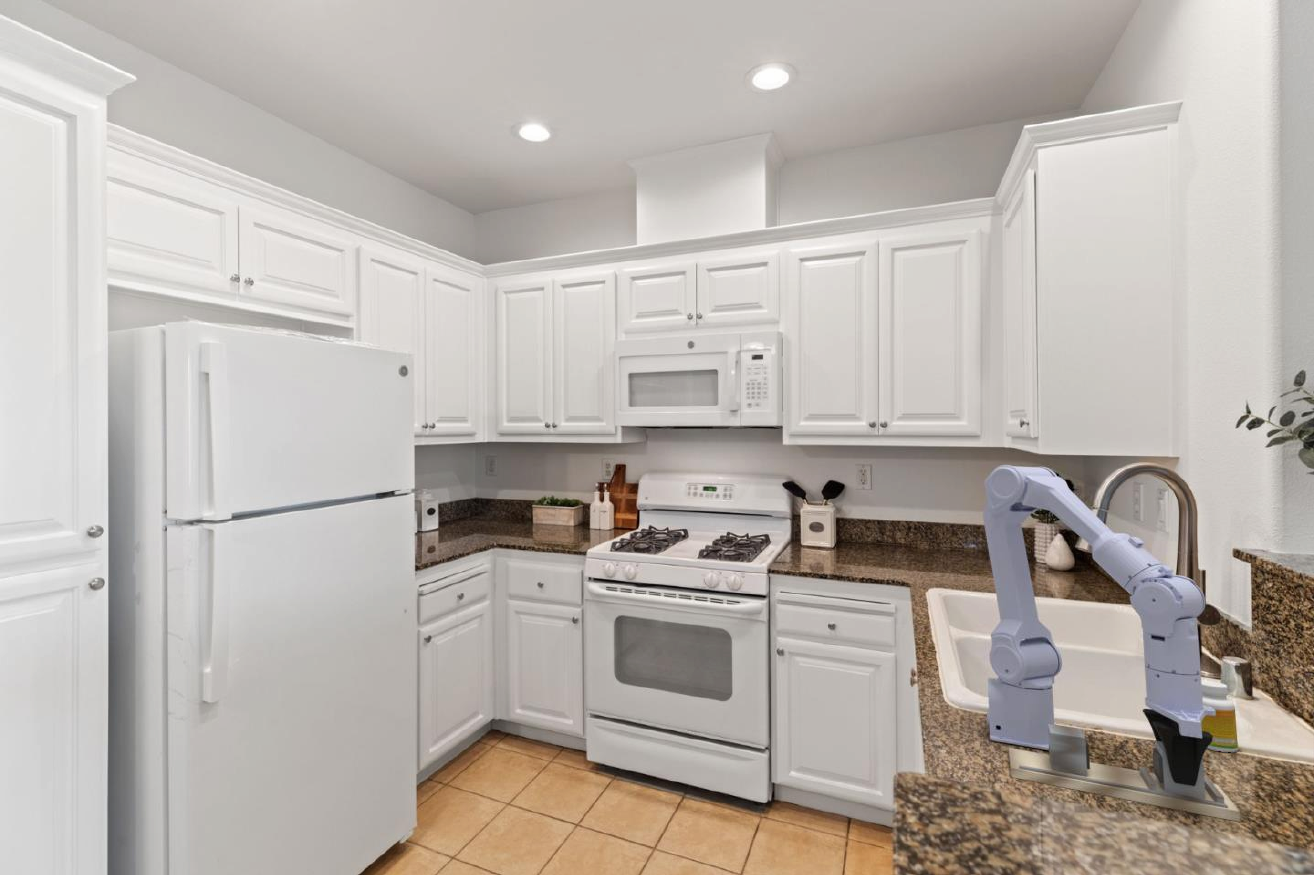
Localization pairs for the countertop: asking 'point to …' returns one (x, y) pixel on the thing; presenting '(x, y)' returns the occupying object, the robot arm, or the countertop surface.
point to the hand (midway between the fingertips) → (1179, 776)
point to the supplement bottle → (1219, 717)
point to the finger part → (1166, 779)
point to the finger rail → (1109, 776)
